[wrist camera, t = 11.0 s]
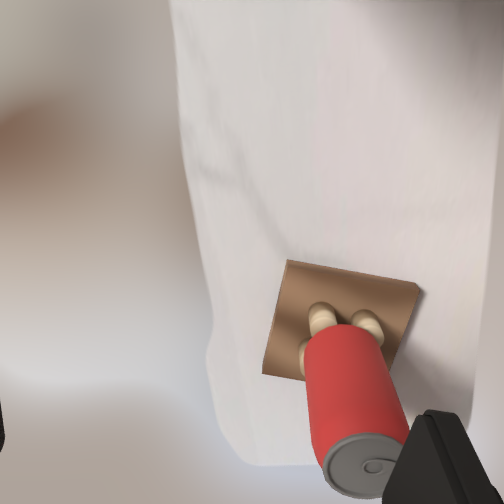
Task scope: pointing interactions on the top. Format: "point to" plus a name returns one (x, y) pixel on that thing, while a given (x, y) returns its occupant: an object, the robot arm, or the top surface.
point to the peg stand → (334, 312)
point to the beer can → (353, 411)
